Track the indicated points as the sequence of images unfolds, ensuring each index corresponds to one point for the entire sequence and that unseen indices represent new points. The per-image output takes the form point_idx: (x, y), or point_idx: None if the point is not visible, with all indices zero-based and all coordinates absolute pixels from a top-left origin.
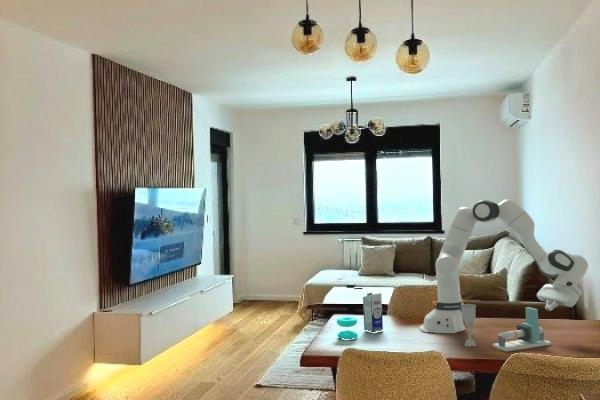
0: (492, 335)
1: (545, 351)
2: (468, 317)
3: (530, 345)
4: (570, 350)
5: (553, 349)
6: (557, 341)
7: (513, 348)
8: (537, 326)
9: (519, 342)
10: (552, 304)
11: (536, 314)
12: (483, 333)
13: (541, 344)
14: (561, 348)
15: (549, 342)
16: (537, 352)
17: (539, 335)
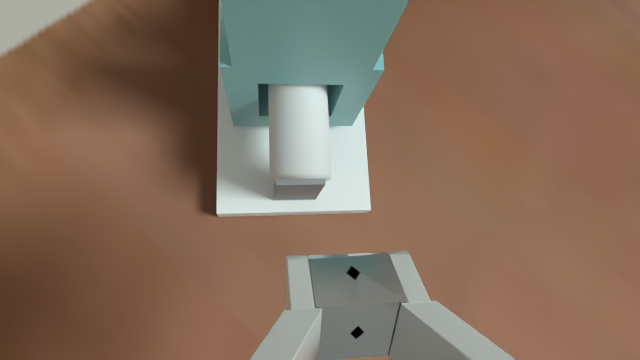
0: (569, 52)
1: (102, 68)
2: None
3: (218, 40)
4: (23, 230)
5: (112, 145)
6: (270, 327)
7: None
8: (221, 51)
9: None
10: (272, 337)
11: None
12: (628, 38)
13: (218, 131)
14: (101, 212)
15: (217, 202)
16: (112, 12)
17: (229, 106)
